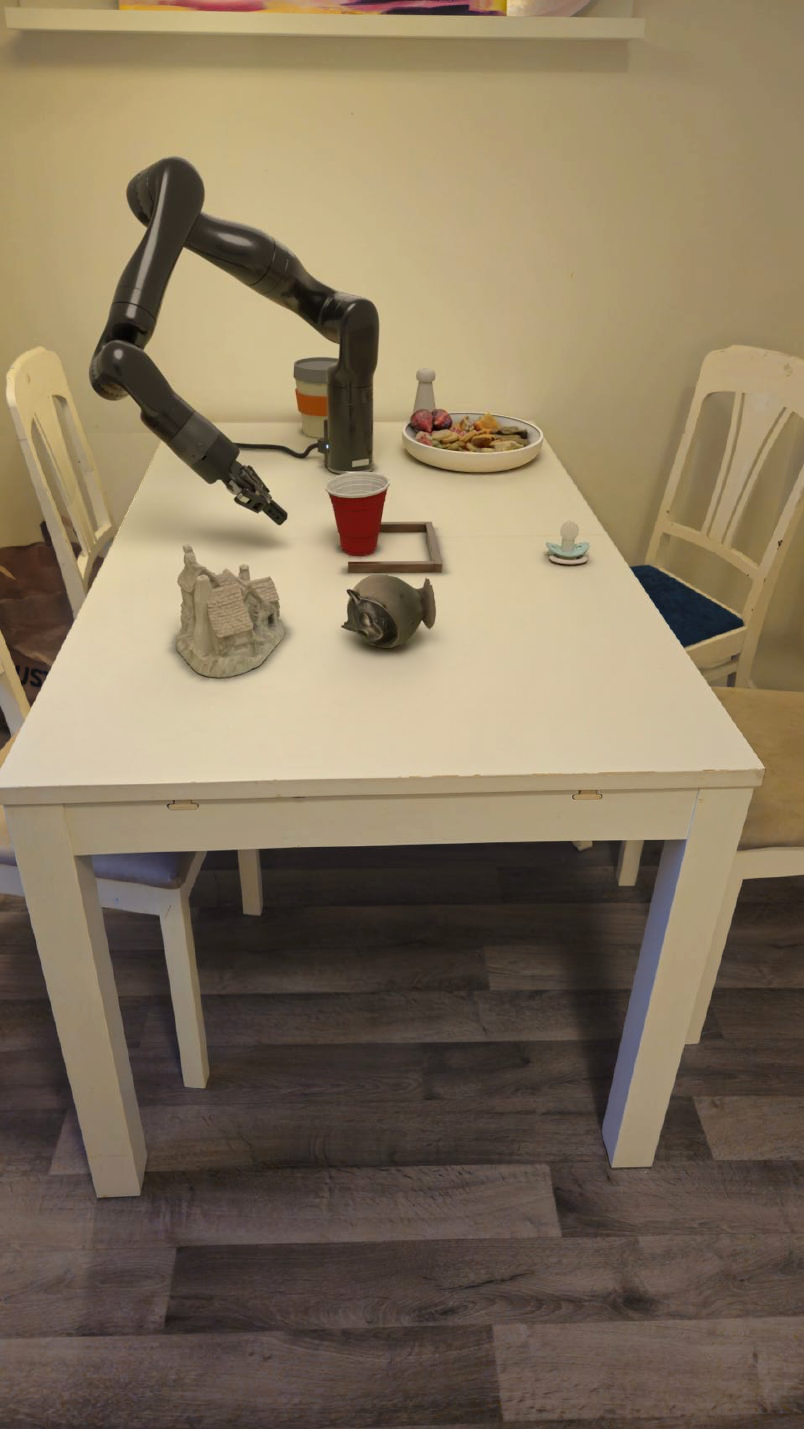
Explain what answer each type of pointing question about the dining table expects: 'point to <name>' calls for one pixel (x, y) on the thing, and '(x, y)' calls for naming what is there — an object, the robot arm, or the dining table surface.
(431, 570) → the frame
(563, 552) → the pacifier
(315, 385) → the reusable coffee cup
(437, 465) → the bowl
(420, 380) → the salt shaker
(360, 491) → the plastic cup
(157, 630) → the dining table surface
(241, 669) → the ceramic cottage
